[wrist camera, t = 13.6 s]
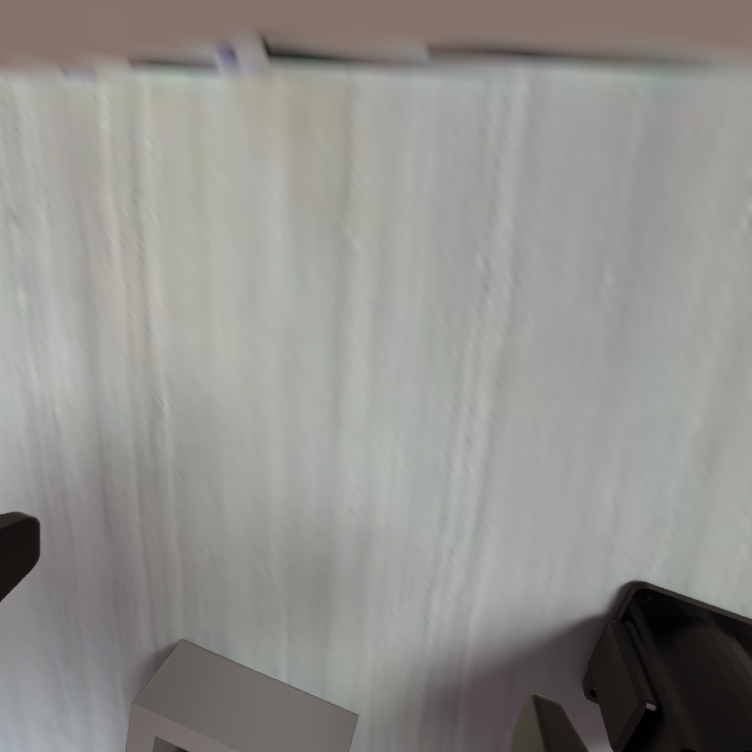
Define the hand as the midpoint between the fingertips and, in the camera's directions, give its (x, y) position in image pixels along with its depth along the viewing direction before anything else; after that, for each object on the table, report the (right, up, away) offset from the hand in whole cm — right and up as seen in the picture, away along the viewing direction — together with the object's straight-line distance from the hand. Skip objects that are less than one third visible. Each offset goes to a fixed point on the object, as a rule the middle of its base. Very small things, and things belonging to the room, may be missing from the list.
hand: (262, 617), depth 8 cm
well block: (-6, -18, +20) cm, 27 cm away
